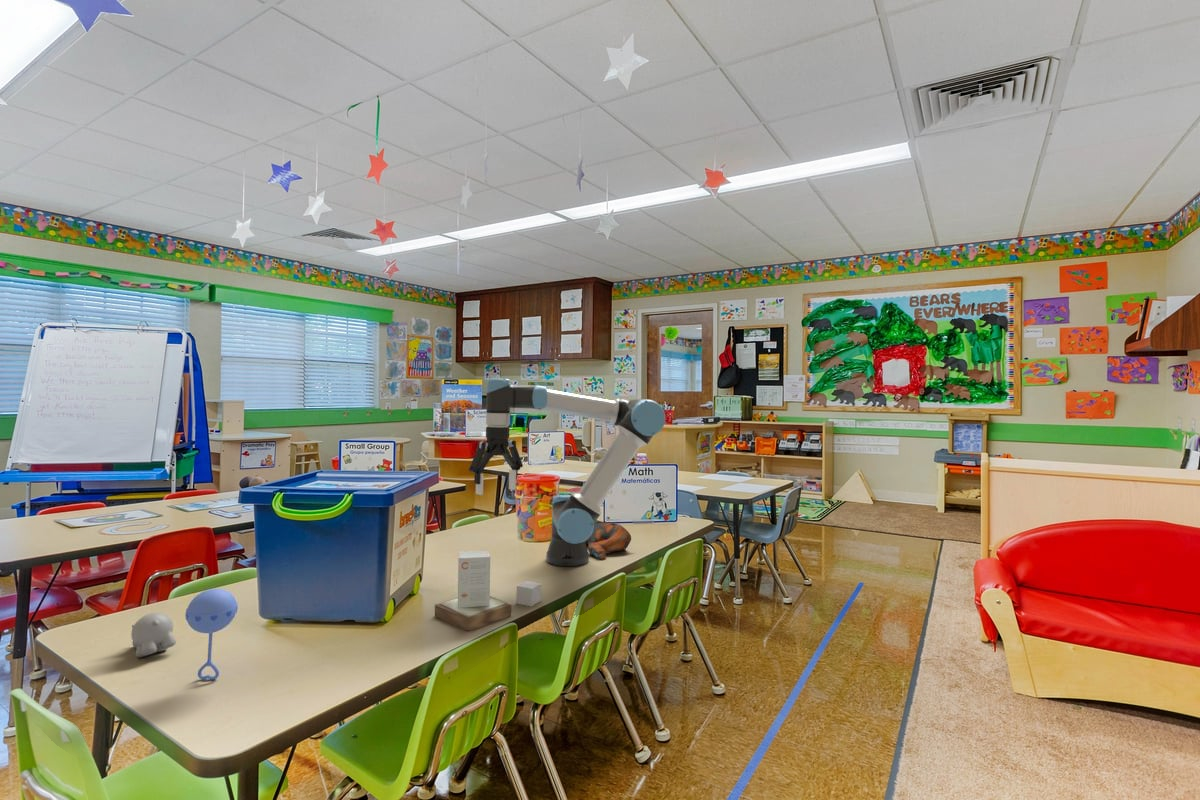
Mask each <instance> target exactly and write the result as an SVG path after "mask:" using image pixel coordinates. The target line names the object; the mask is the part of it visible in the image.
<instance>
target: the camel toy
mask: <svg viewBox="0 0 1200 800" xmlns="http://www.w3.org/2000/svg"><path fill="white" fill-rule="evenodd" d="M631 540H632V536H631V533H630V532H629V531H628V530H627V529H626V528H625V527H624V526H622V525H621V524H619V523H614V522H607V521H602V520H598V519H597V520H596V522H595V523H594V528H593V532H592V534H591V536H590V537H589V538H588V539H587V540H586V541H585V543H586V545H588V548H587V551H588V553H589V555H591V556H594V557H595V558H596V559H598V560H604V559H606V557H607V553H612V552H613V553H614V552H618V551H622V550H627V548H628V546H629V545H630V543H631Z"/></svg>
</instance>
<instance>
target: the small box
mask: <svg viewBox="0 0 1200 800" xmlns="http://www.w3.org/2000/svg"><path fill="white" fill-rule="evenodd" d="M457 562H458V566H457V567H458V569H457V571H458V572H457V573H458V574H457V579H458V580H457V598H458V608H467V607H481V606H489V599H490V596H491V595H490V594H491V589H490V588H491V555H490V551H489V550H470V551H458V561H457Z"/></svg>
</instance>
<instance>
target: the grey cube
mask: <svg viewBox="0 0 1200 800" xmlns="http://www.w3.org/2000/svg"><path fill="white" fill-rule="evenodd" d="M515 595H516V596H515V597H516V602H515V603H516V604H518V605H523V606H527V607H533V606H535V605H536V604H538V603H540V602H541V601H542V583H540V582H535V581H530V580H525V581H523V582H521V583H519V584H518V585H516V594H515Z"/></svg>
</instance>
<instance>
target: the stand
mask: <svg viewBox="0 0 1200 800" xmlns="http://www.w3.org/2000/svg"><path fill="white" fill-rule="evenodd" d="M511 616H512V604H511V603H509V602H507V601H503V600H502V599H498V598H496V597H494V596H491V595H490V599H489V606H481V607H467V608H458V597H455V598H452V599H449V600H447V601H442V602H439V603H436V604H434V617H435V618H437V619H439V620H442V621H444V622H447V623H448V624H450V625H452V626H454V627H457V628H459V629H461V630H463V631H466V632H469V631H472V630H475V629H478V628H481V627H483V626H486V625H489V624H491V623H495V622H497V621H500V620H503V619H507V618H508V617H511Z"/></svg>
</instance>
